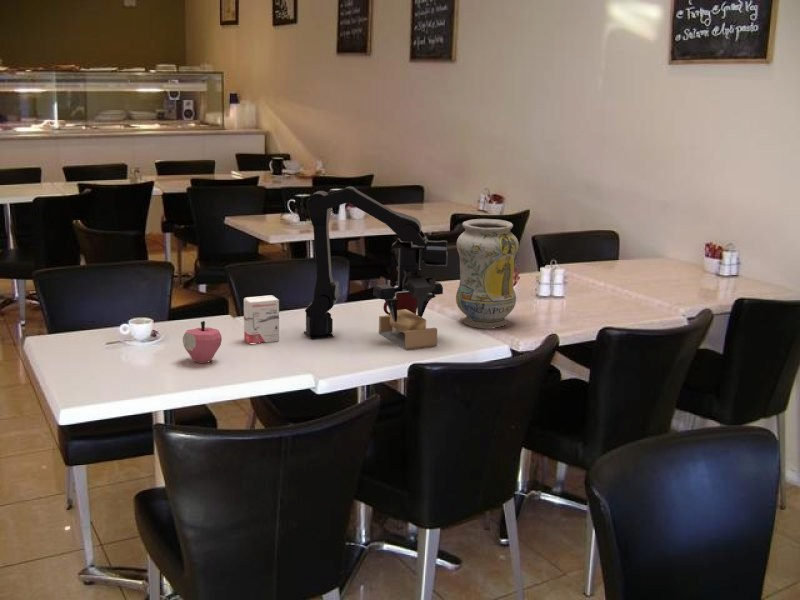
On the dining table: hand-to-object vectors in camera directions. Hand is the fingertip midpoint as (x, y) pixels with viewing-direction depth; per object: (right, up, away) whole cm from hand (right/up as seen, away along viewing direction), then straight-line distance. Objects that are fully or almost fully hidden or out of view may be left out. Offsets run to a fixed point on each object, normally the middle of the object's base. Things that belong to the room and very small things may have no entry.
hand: (407, 320), depth 246 cm
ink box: (-39, -6, -3) cm, 40 cm away
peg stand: (0, -5, +1) cm, 6 cm away
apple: (-51, -10, -21) cm, 56 cm away
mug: (-2, -1, +18) cm, 18 cm away
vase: (+23, -1, +20) cm, 30 cm away
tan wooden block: (0, -2, +1) cm, 3 cm away
